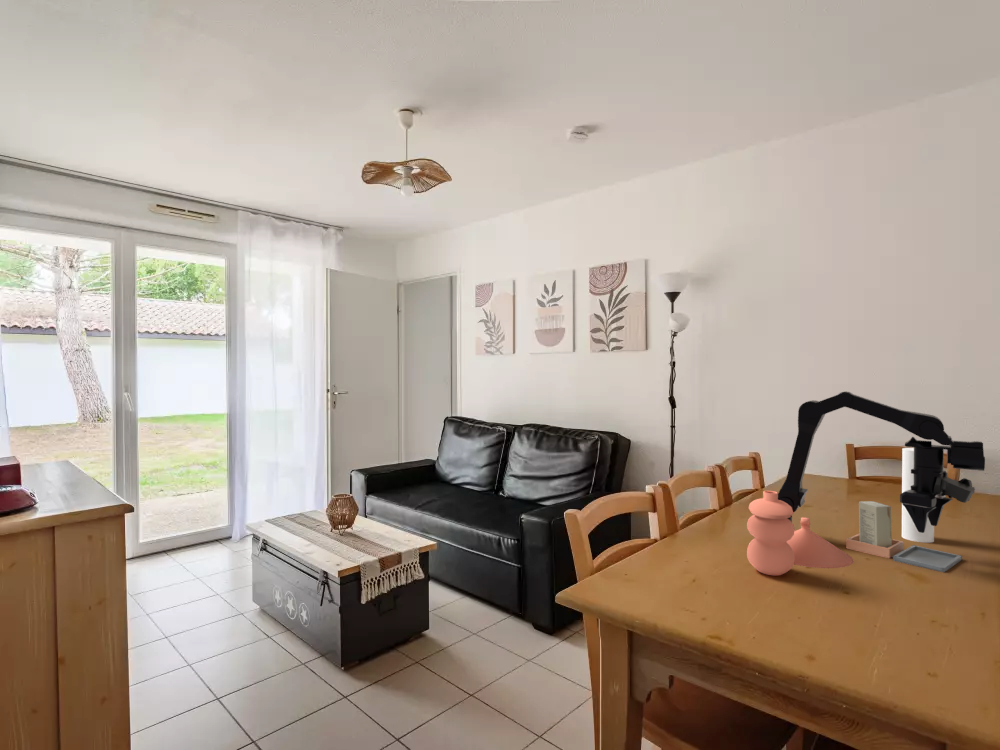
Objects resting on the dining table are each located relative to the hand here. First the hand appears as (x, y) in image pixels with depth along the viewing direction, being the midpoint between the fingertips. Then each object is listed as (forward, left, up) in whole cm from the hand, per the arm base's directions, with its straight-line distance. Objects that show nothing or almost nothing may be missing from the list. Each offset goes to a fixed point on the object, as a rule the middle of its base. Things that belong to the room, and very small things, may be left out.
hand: (927, 528), depth 132 cm
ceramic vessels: (-26, +20, -8) cm, 34 cm away
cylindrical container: (+19, +7, -8) cm, 22 cm away
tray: (0, 0, -8) cm, 8 cm away
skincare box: (-1, +11, -8) cm, 14 cm away
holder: (-1, +11, -8) cm, 14 cm away
